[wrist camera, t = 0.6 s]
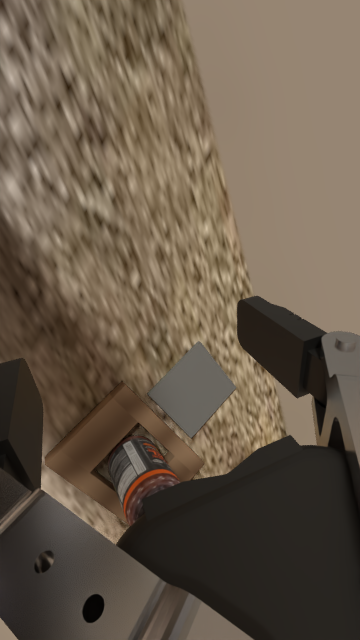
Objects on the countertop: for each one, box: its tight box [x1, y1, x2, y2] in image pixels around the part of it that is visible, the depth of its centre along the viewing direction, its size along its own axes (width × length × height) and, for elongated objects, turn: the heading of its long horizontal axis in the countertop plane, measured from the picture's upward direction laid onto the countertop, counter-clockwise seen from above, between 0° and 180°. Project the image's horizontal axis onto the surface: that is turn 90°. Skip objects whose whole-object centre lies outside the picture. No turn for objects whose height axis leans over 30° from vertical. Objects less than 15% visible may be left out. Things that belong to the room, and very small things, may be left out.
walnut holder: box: [45, 381, 204, 523], centre depth 35 cm, size 16×11×2 cm
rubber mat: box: [147, 341, 236, 438], centre depth 38 cm, size 9×9×1 cm
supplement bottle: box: [108, 436, 180, 526], centre depth 31 cm, size 6×6×11 cm
